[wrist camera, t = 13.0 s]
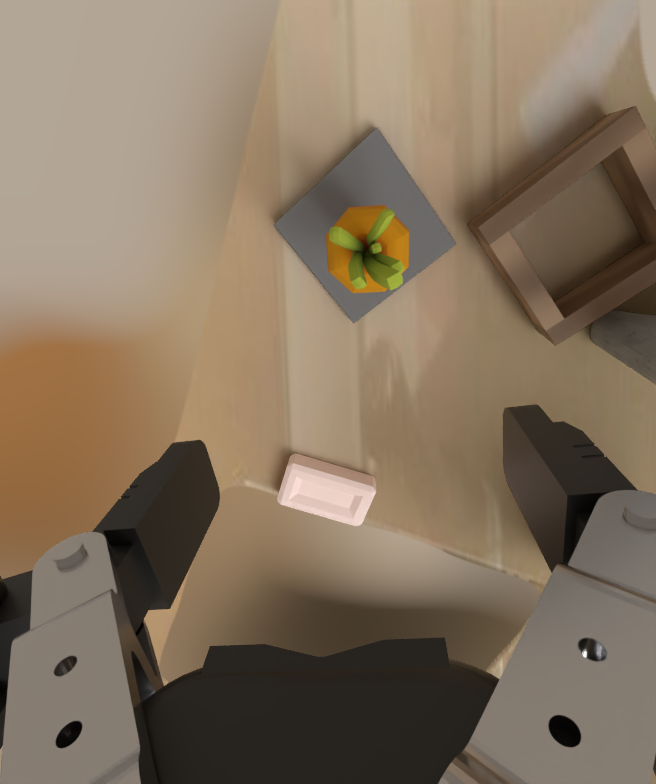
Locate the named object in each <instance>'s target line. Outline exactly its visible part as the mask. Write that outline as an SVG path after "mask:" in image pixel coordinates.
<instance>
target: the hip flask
mask: <svg viewBox="0 0 656 784" xmlns="http://www.w3.org/2000/svg"><path fill="white" fill-rule="evenodd" d="M590 337H591V340H592V341H593V343H595V344H596V345H597V346H599V347H600V348H602V349H603V350H605V351H606V352H608V353H609V354H611V355H612V356H614V357H615V358H617V359H618V360H620V361H621V362H623V363H624V364H626V365H627V366H629V367H630V368H632V369H633V370H635V371H636V372H638V373H639V374H641V375H642V376H644V377H645V378H647V379H648V380H650V381H651V382H653V383H654V384H656V315H647V314H637V313H630V312H624V311H616V310H615V311H610V312H608V313H606V314H605V315H603V316H602V317H600V318H598V319H597V320H595V321H594V323H593V325H592V327H591V330H590Z"/></svg>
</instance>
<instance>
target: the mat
mask: <svg viewBox="0 0 656 784" xmlns="http://www.w3.org/2000/svg"><path fill="white" fill-rule="evenodd" d="M374 205H385V206H386V207H387V208H390V209H391V210H393V212H394V213H395V216H396V217H397V218H398V219H399V220H400V221H401V222H402V223H403V224H404V225H405V226H406V227H407V228H408V229H409V267H408V268H407V269H406V270H405V271H404V272H403V273H402V274H401V275H402V277H403V283H402V284H401V285H400V286H399V287H398V288H395V289H393V290H389V289H387V290H386V291H385V292H370V293H352V292H350V291H349V290H348V289H347V288H346V287H345V286H344V285H343V284H342V283H341V282H339V281H338V280H337V279H336V278H335V277H334V276H333V275H332V274H331V273H330V272H328V263H327V247H326V234H327V233H328V232H329V231H330V228H331V227H333V226H334V225H335V223H336V222H337V221H338V220H339V219H340V217H341V216H342V215H343V214H344V213H345V211H346V210H347V209H348V208H349V207H359V206H374ZM274 226H275V228H276V229H277V230H278V231H279V233H280V234H281V235H282V236H283V237H284V239H285V240H286V241H287V242H288V244H289V245H290V246H291V247H292V248H293V250H294V251H295V252H296V253H297V255H298V256H299V257H300V258H301V259H302V261H303V262H304V263H305V264H306V266H307V267H308V268H309V269H310V270H311V272H312V273H313V274H314V275H315V277H316V278H317V279H318V280H319V281H320V283H321V284H322V285H323V286H324V288H325V289H326V290H327V291H328V293H329V294H330V295H331V296H332V297H333V299H334V300H335V301H336V302H337V304H338V305H339V306H340V307H341V308H342V310H343V311H344V312H345V313H346V315H347V316H348V317H349V318H350V319H351V321H352V322H353V323H355V322H356V321H357V320H359V319H360V318H361V317H363V316H364V315H365V314H367V313H368V312H369V311H370V310H372V309H373V308H374V307H376V306H377V305H378V304H379V303H381V302H382V301H383V300H385V299H386V298H387V297H388V296H390V295H391V294H392V293H394V292H395V291H396V290H398V289H399V288H400V287H401V286H403V285H404V284H405V283H407V282H408V281H409V280H410V279H412V278H413V277H414V276H416V275H417V274H418V273H420V272H421V271H422V270H423V269H425V268H426V267H427V266H429V265H430V264H431V263H432V262H434V261H435V260H436V259H438V258H439V257H440V256H442V255H443V254H444V253H445V252H447V251H448V250H449V249H451V248H452V247H453V246H454V245H456V242H455V241H454V239H453V238H452V236H451V235H450V233H449V232H448V231H447V229H446V228H445V226H444V225H443V223H442V222H441V220H440V219H439V217H438V216H437V214H436V213H435V211H434V210H433V209H432V207H431V206H430V204H429V203H428V201H427V200H426V198H425V197H424V195H423V194H422V192H421V191H420V189H419V188H418V187H417V185H416V184H415V182H414V181H413V179H412V178H411V176H410V175H409V173H408V172H407V170H406V169H405V167H404V166H403V165H402V163H401V162H400V160H399V159H398V157H397V156H396V154H395V153H394V151H393V150H392V148H391V147H390V145H389V144H388V143H387V141H386V140H385V138H384V137H383V135H382V134H381V132H380V131H379V129H378V128H376V129H375V130H374V131H373V132H372V133H371V134H370V135H369V136H367V137H366V138H365V139H364V140H363V141H362V142H361V143H360V144H359V145H358V146H357V147H356V148H355V149H354V150H353V151H351V152H350V153H349V154H348V155H347V156H346V157H345V158H344V159H343V160H342V161H341V162H340V163H339V164H338V165H337V166H336V167H334V168H333V169H332V170H331V171H330V172H329V173H328V174H327V175H326V176H325V177H324V178H323V179H322V180H321V181H320V182H318V183H317V184H316V185H315V186H314V187H313V188H312V189H311V190H310V191H309V192H308V193H307V194H306V195H305V196H304V197H303V198H301V199H300V200H299V201H298V202H297V203H296V204H295V205H294V206H293V207H292V208H291V209H290V210H289V211H288V212H287V213H285V214H284V215H283V216H282V217H281V218H280V219H279V220H278V221H277V222H276V223H275V224H274Z"/></svg>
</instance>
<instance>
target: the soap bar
mask: <svg viewBox="0 0 656 784" xmlns="http://www.w3.org/2000/svg"><path fill="white" fill-rule="evenodd" d="M375 493H376V480H375V479H374V477H373V476H371V475H367V474H364V473H361V472H357V471H354V470H350V469H347V468H344V467H340V466H337V465H334V464H330V463H327V462H323V461H320V460H317V459H313V458H310V457H307V456H303V455H300V454H296V453H295V454H293V455H291V456H290V458H289V462H288V465H287V468H286V471H285V474H284V477H283V481H282V484H281V487H280V490H279V494H278V497H277V501H278V502H279V504H280V505H284V506H287V507H291V508H294V509H298V510H301V511H305V512H308V513H312V514H315V515H319V516H322V517H325V518H329V519H333V520H336V521H340V522H343V523H346V524H350V525H353V526H358V525H361V524H362V522H363V520H364V518H365V516H366V513H367V511H368V509H369V507H370V504H371V502H372V500H373V498H374V495H375Z"/></svg>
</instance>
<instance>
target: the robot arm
mask: <svg viewBox="0 0 656 784" xmlns="http://www.w3.org/2000/svg"><path fill="white" fill-rule="evenodd" d="M503 465H504V472H505V477H506V480H507V483H508V486H509V488H510V490H511V492H512V494H513V496H514V498H515V500H516V502H517V504H518V506H519V508H520V510H521V512H522V514H523V516H524V518H525V520H526V522H527V524H528V526H529V528H530V530H531V532H532V534H533V536H534V538H535V540H536V542H537V544H538V546H539V548H540V550H541V552H542V554H543V556H544V558H545V560H546V562H547V564H548V566H549V568H550V570H551V572H552V574H551V576H550V578H549V580H548V582H547V584H546V586H545V588H544V590H543V592H542V594H541V596H540V598H539V600H538V602H537V605H536V607H535V609H534V611H533V613H532V615H531V617H530V619H529V621H528V623H527V625H526V627H525V629H524V631H523V633H522V635H521V637H520V639H519V641H518V643H517V645H516V647H515V649H514V651H513V653H512V655H511V658H510V660H509V662H508V664H507V666H506V668H505V670H504V672H503V674H502V676H501V678H500V679H498V678H496V677H495V676H493V675H492V674H490V673H487V672H485V671H483V670H481V669H479V668H477V667H474V666H472V665H469V664H466V663H463V662H460V661H455V660H452V659H448V654H447V648H446V642H445V638H421V639H395V640H382V641H378V642H375V643H371V644H368V645H364V646H361V647H357V648H354V649H350V650H347V651H343V652H340V653H337V654H333V655H330V656H326V657H316V656H311V655H307V654H303V653H299V652H294V651H291V650H286V649H282V648H278V647H274V646H270V645H266V644H257V645H230V646H210V648H209V651H208V654H207V657H206V659H205V662H204V665H203V668H200V669H197V670H195V671H192V672H190V673H188V674H185V675H183V676H181V677H179V678H177V679H175V680H174V681H172V682H170V683H168V684H167V685H165V686H164V684H163V681H162V677H161V674H160V670H159V666H158V663H157V659H156V656H155V652H154V648H153V645H152V641H151V637H150V634H149V630H148V627H147V625H146V623H145V621H144V617H145V616H146V614H147V612H148V610H157V609H170V607H171V605H172V603H173V601H174V599H175V597H176V595H177V593H178V591H179V589H180V587H181V584H182V582H183V580H184V578H185V576H186V574H187V572H188V570H189V568H190V566H191V564H192V561H193V559H194V557H195V555H196V553H197V551H198V549H199V547H200V545H201V543H202V541H203V539H204V536H205V534H206V532H207V530H208V528H209V526H210V524H211V522H212V520H213V518H214V516H215V513H216V511H217V509H218V506H219V500H220V493H219V487H218V483H217V480H216V477H215V474H214V471H213V468H212V464H211V461H210V458H209V455H208V452H207V449H206V446H205V444H204V443H203V442H202V441H201V440H194V441H185V442H176V443H172V445H170V447H169V448H168V449H167V450H166V452H165V453H164V454H163V455H162V457H161V458H160V459H159V460H158V462H155V463H154V464H153V465H152V466H150V467H149V468H147V469H146V470H144V471H143V472H142V473H140V474H139V476H138V477H137V478H136V479H135V480H134V482H133V483H132V484H131V485H130V489H127V490H126V491H125V493H124V494H123V495H122V496H121V499H119V500H118V501H117V502H116V503H115V505H114V506H113V507H112V508H111V510H110V511H109V512H108V513H107V514H106V516H105V517H104V518H103V519H102V520H101V522H100V523H99V524H98V525H97V527H96V528H95V529H94V530H93V531H92V532H86V533H82V534H78V535H75V536H72V537H70V538H68V539H66V540H64V541H62V542H60V543H58V544H57V545H55V546H54V547H52V548H51V549H50V550H48V551H47V552H46V553H45V554H44V555H43V556H42V557H41V558H40V559H39V560H38V561H37V563H36V564H35V566H34V568H33V570H32V571H29V572H26V573H22V574H19V575H16V576H12V577H9V578H6V579H2V578H1V576H0V749H1V747H2V746H3V749H2V760H1V772H0V784H650V781H651V777H652V771H653V770H654V773H655V775H656V494H652V493H648V492H643V491H638V490H637V489H636V488H635V487H634V486H633V485H632V484H631V483H630V482H629V481H628V479H627V478H626V477H625V476H624V475H623V474H622V473H621V472H620V471H619V470H618V469H617V468H616V467H615V466H614V464H613V463H612V462H611V461H610V460H609V459H608V458H607V457H604V454H603V453H602V452H601V451H600V449H599V448H598V447H597V446H594V443H593V442H592V441H591V440H590V439H589V438H588V437H587V436H586V434H585V433H584V432H583V431H581V430H579V429H577V428H575V427H573V426H571V425H569V424H567V423H565V422H554V423H553V422H552V421H551V420H550V418H549V417H548V416H547V415H546V414H545V412H544V411H543V410H542V409H541V408H540V407H539V406H538V405H527V406H518V407H509V408H505V409H504V413H503Z"/></svg>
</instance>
